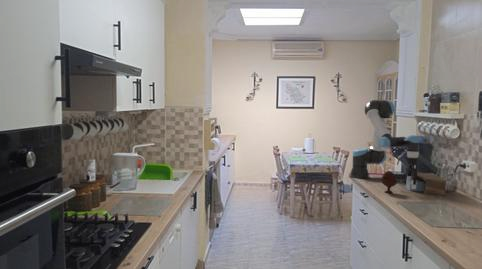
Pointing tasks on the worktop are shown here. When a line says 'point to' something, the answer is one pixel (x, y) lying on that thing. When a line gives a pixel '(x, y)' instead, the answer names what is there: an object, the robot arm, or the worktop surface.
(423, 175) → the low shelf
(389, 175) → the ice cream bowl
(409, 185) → the grey slate tile
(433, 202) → the worktop surface
